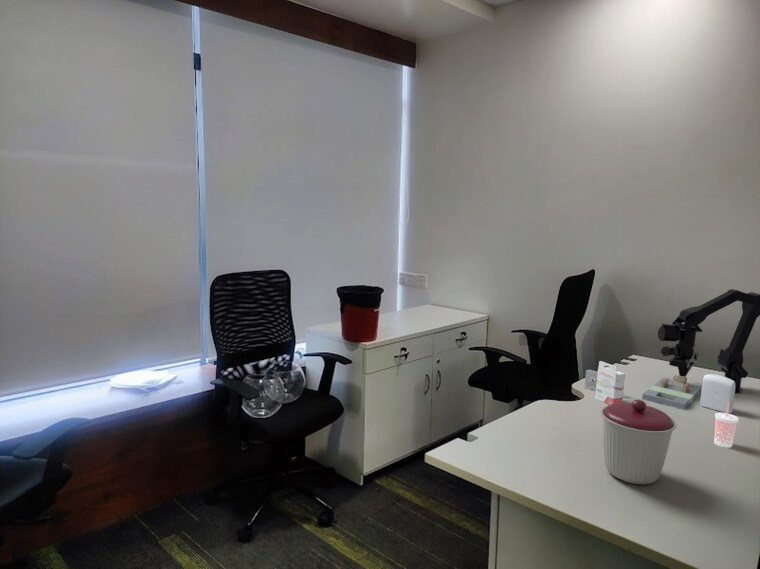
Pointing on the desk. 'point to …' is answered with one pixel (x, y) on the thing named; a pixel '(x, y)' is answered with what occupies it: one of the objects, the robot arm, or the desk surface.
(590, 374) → the cassette
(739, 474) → the desk surface
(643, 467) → the canister
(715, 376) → the photo printer
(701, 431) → the desk surface
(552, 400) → the desk surface
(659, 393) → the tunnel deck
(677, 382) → the birch block
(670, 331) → the robot arm
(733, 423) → the beverage cup
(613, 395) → the ink cartridge box
